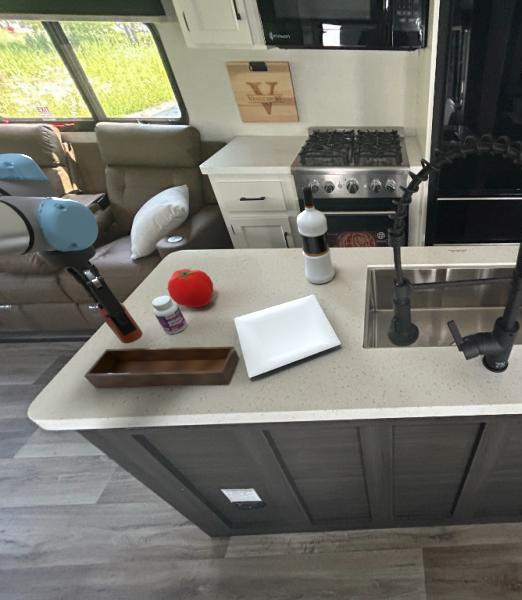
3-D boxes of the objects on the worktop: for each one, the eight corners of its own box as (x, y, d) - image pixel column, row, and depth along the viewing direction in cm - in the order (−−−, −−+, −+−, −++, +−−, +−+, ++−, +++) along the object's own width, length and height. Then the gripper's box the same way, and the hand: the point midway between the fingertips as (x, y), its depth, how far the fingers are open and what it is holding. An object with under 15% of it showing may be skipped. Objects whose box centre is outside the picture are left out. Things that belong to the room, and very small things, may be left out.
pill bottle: (177, 336, 86) (161, 309, 80) (160, 332, 87) (143, 305, 81) (192, 322, 90) (177, 295, 84) (175, 319, 91) (160, 292, 85)
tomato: (192, 319, 91) (176, 291, 84) (167, 302, 96) (151, 274, 89) (228, 298, 98) (216, 271, 91) (203, 283, 103) (190, 256, 97)
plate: (314, 299, 99) (313, 293, 98) (341, 348, 84) (341, 343, 83) (235, 323, 90) (233, 317, 89) (251, 382, 76) (248, 377, 74)
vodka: (320, 288, 103) (305, 197, 83) (300, 278, 107) (281, 188, 87) (340, 275, 109) (330, 186, 89) (320, 265, 113) (307, 178, 93)
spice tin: (116, 343, 78) (94, 316, 72) (126, 330, 81) (106, 302, 76) (136, 343, 78) (116, 315, 72) (146, 329, 82) (127, 302, 76)
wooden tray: (95, 388, 73) (83, 376, 71) (116, 360, 79) (106, 348, 77) (228, 384, 75) (222, 372, 72) (239, 358, 81) (234, 346, 78)
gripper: (103, 248, 61) (159, 334, 76) (67, 221, 69) (124, 304, 84) (54, 266, 56) (124, 354, 72) (20, 235, 64) (90, 320, 79)
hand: (124, 327), depth 78 cm, fingers closed on spice tin, 5 cm apart
